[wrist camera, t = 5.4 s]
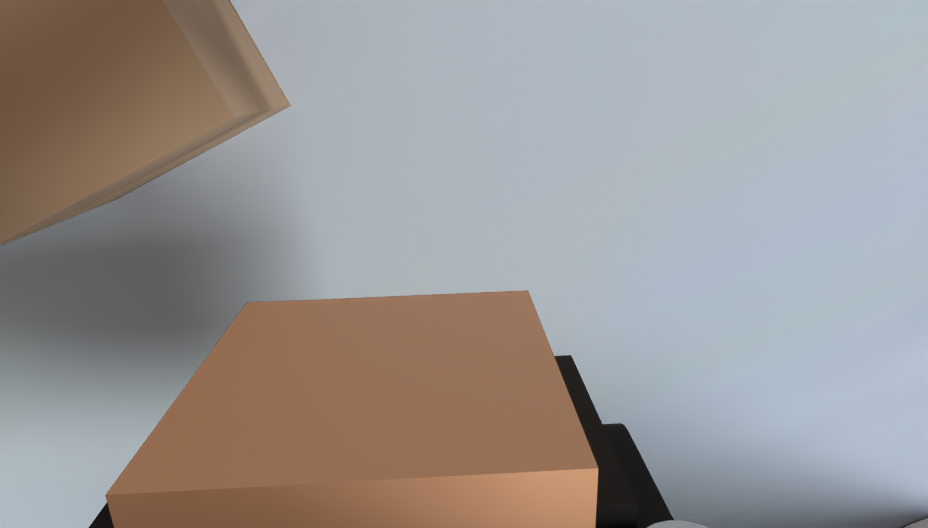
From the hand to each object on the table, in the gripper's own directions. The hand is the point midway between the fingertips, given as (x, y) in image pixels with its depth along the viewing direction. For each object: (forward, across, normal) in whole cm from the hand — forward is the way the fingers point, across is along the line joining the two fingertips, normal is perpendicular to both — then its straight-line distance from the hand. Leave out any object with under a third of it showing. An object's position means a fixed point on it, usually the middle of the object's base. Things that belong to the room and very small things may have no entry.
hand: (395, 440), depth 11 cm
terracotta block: (+1, 0, 0) cm, 1 cm away
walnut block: (+6, +6, -7) cm, 11 cm away
